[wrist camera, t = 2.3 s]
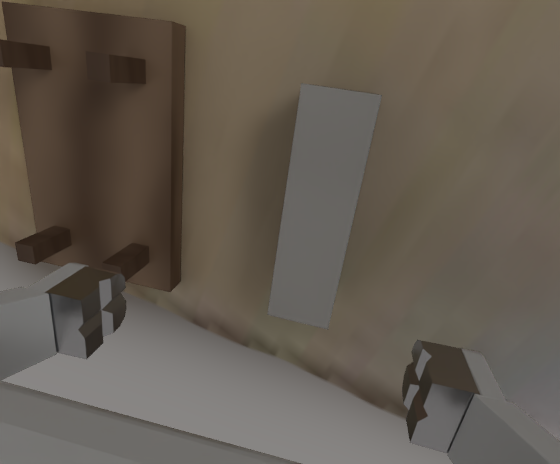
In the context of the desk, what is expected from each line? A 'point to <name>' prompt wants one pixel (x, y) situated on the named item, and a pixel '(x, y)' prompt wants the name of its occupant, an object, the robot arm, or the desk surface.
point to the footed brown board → (101, 138)
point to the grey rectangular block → (320, 200)
